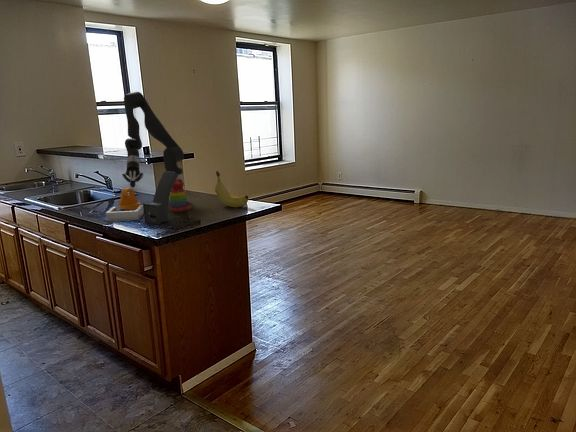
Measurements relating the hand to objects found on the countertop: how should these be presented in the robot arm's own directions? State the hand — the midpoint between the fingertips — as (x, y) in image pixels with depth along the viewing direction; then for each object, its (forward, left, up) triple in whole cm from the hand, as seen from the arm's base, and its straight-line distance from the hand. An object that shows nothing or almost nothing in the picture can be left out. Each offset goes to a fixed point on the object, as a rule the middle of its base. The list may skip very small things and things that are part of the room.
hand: (132, 186), depth 270 cm
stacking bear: (-31, +29, -10) cm, 43 cm away
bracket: (-4, +38, -10) cm, 40 cm away
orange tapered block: (-2, +18, -10) cm, 21 cm away
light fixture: (-26, +51, -10) cm, 58 cm away
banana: (-60, +28, -10) cm, 68 cm away
